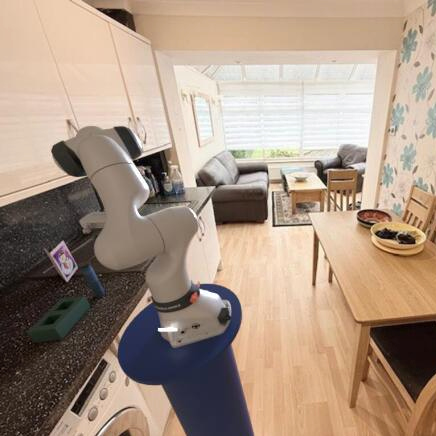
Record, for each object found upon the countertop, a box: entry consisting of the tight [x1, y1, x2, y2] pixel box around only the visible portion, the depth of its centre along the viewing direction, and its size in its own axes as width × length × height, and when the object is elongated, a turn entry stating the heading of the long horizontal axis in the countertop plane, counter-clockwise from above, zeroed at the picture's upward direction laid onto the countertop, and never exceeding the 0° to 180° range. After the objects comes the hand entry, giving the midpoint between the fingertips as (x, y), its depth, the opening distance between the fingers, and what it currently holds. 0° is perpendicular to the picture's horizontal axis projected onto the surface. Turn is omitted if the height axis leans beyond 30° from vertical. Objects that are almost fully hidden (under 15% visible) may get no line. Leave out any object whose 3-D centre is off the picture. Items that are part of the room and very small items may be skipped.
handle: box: [77, 260, 106, 299], centre depth 91 cm, size 4×4×15 cm
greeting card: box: [42, 240, 79, 283], centre depth 103 cm, size 11×7×15 cm, turn 20°
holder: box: [26, 295, 91, 344], centre depth 81 cm, size 8×14×5 cm, turn 7°
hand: (97, 232), depth 94 cm, fingers open, 8 cm apart
